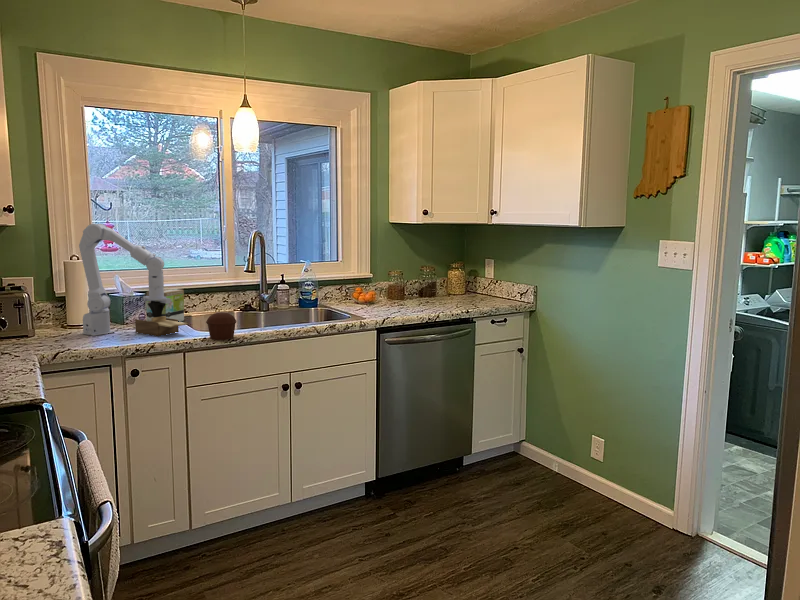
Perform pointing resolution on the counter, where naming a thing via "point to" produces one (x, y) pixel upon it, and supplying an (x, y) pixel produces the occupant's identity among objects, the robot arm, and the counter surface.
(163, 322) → the lid
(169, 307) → the tea box
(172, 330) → the box
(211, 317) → the muffin
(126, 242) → the robot arm
